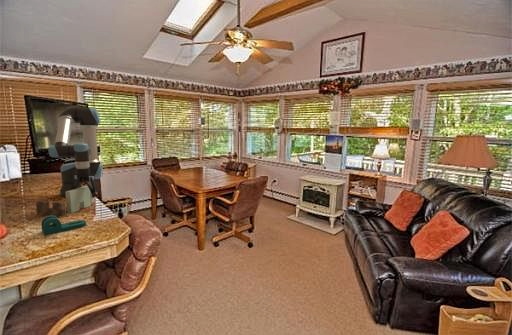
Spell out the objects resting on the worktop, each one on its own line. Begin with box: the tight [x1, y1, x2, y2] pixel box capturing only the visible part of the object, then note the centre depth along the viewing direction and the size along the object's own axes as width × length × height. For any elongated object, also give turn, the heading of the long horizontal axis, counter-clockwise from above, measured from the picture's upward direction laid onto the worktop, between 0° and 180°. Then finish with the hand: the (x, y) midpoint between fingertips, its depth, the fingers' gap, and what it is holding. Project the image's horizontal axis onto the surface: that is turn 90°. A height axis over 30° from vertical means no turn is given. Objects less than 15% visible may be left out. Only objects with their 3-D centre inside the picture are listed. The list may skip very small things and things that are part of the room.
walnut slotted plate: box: [35, 200, 67, 218], centre depth 153 cm, size 16×2×8 cm, turn 83°
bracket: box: [41, 215, 87, 237], centre depth 134 cm, size 18×7×8 cm, turn 137°
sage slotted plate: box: [65, 185, 92, 214], centre depth 164 cm, size 16×3×13 cm, turn 173°
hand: (85, 201), depth 170 cm, fingers open, 10 cm apart
